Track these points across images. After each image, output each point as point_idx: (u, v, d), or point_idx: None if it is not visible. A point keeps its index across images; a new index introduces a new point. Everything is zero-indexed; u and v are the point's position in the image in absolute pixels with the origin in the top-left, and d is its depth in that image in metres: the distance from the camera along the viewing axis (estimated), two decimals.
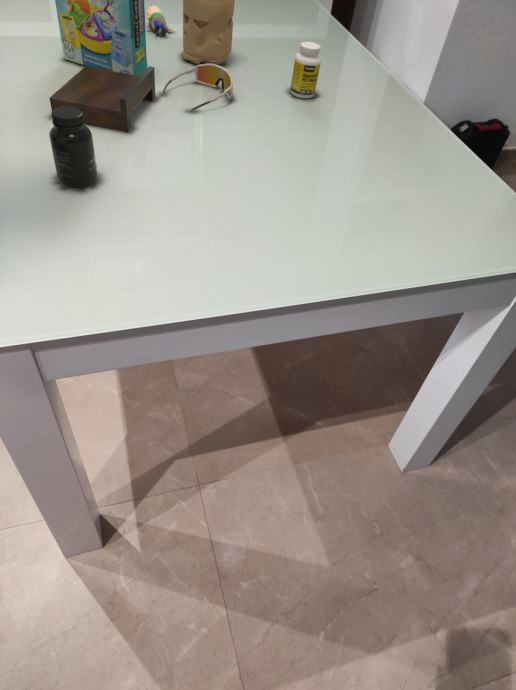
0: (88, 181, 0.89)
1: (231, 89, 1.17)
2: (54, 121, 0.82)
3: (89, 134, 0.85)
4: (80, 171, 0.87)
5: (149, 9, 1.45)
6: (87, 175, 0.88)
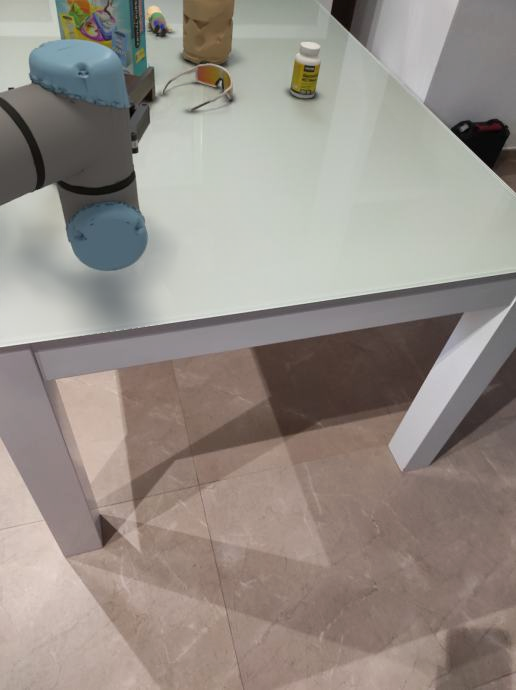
0: None
1: (231, 89, 1.17)
2: None
3: None
4: None
5: (149, 9, 1.45)
6: None
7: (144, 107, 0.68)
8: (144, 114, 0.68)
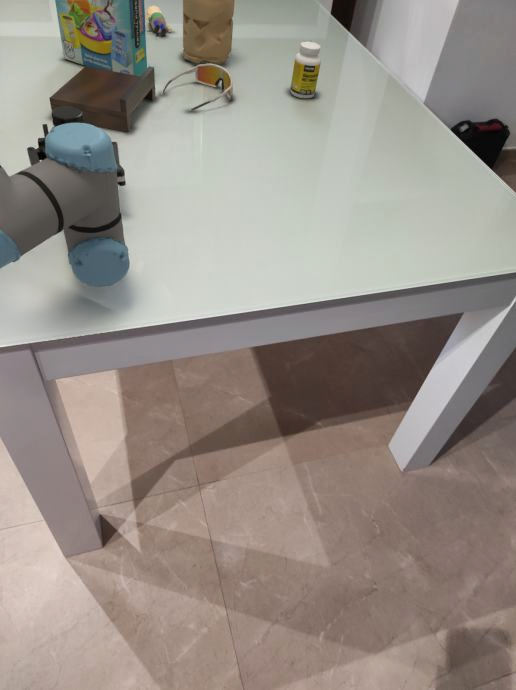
0: None
1: (231, 89, 1.17)
2: (54, 121, 0.82)
3: None
4: None
5: (149, 9, 1.45)
6: None
7: (115, 146, 0.85)
8: None
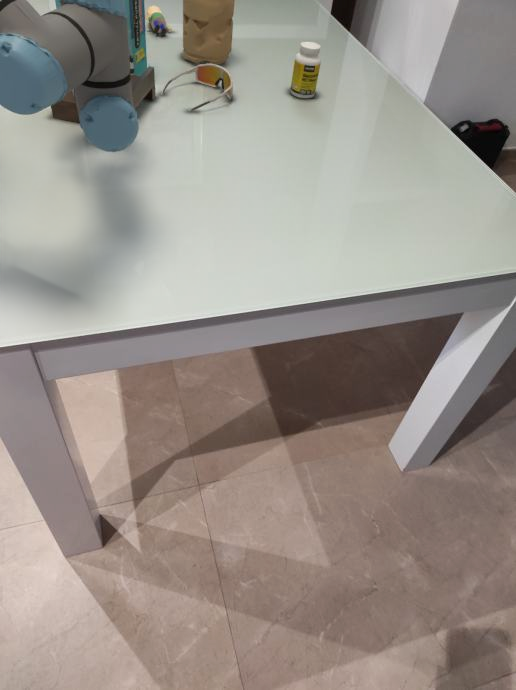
0: None
1: (231, 89, 1.17)
2: None
3: None
4: None
5: (149, 9, 1.45)
6: None
7: None
8: None
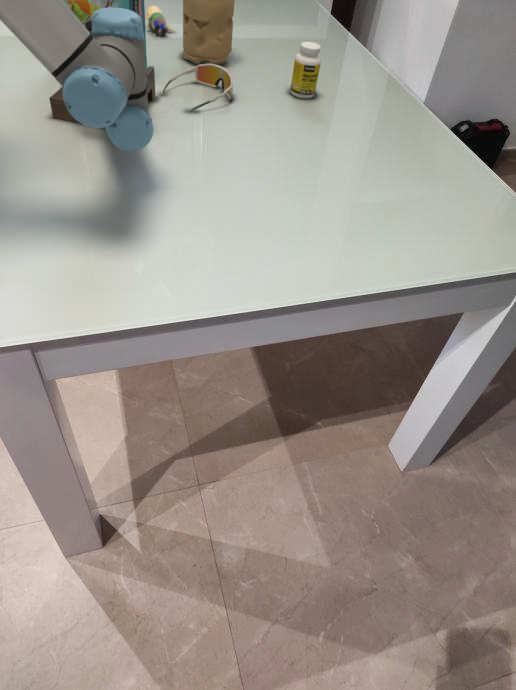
0: None
1: (231, 89, 1.17)
2: None
3: None
4: None
5: (149, 9, 1.45)
6: None
7: None
8: None
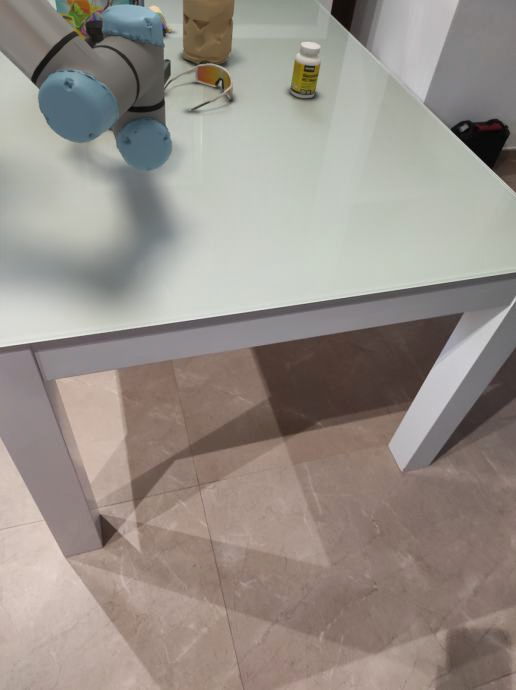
0: None
1: (231, 89, 1.17)
2: (87, 31, 0.99)
3: None
4: None
5: None
6: None
7: (167, 63, 0.90)
8: (167, 67, 0.90)
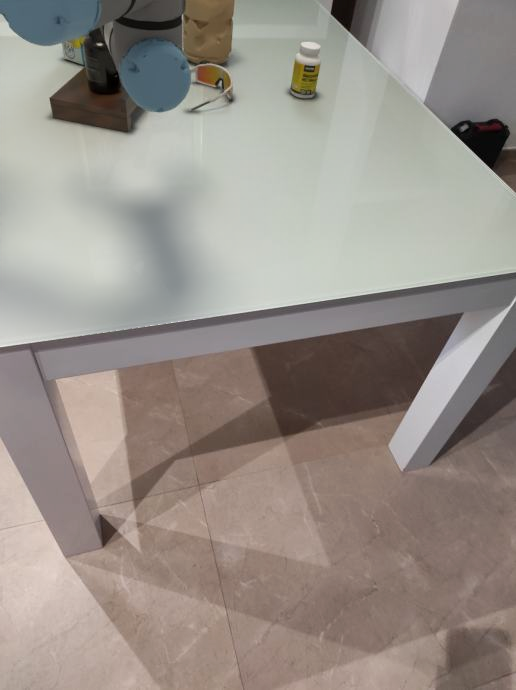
0: (114, 87, 1.06)
1: (231, 89, 1.17)
2: None
3: None
4: (107, 76, 1.03)
5: None
6: (113, 81, 1.05)
7: None
8: None
